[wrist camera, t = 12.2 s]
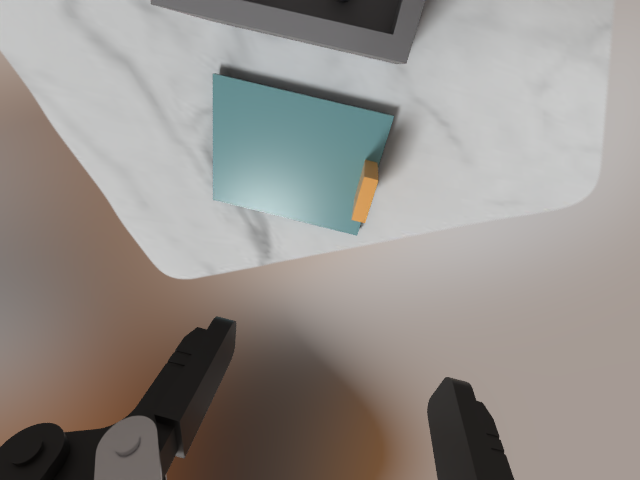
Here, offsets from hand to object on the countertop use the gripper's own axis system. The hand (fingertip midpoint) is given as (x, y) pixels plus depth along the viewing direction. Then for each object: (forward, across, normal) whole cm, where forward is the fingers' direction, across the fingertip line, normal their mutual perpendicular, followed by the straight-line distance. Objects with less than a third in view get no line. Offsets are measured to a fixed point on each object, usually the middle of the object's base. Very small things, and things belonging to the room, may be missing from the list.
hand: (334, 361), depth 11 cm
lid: (+21, +7, 0) cm, 22 cm away
